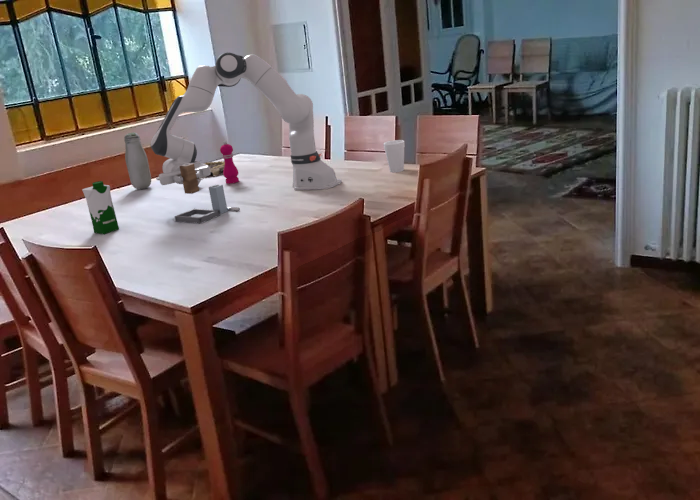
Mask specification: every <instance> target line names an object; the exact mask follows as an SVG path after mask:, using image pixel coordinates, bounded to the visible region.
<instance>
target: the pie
mask: <svg viewBox="0 0 700 500" xmlns="http://www.w3.org/2000/svg"><path fill="white" fill-rule="evenodd" d="M202 164H206V165H208V166H209V167H210V172H211V174H212V177H220V176H222V174H221V173H223V170H224V166H225V162H224V161H222V160H219V161H208V162H204V163H203V162H202ZM220 174H221V175H220ZM207 177H208V176H204V177H200V179H204V178H207Z"/></svg>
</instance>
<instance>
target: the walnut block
mask: <svg viewBox="0 0 700 500" xmlns="http://www.w3.org/2000/svg"><path fill="white" fill-rule="evenodd" d="M179 167H180V171H181V176H182V177H183V184H182V186H183V190H184V194H191V195H193V194H195V193H198V192H200V188H199V185H198V181H197V176H196V171H195V166H194V164H184V165H181V166H179Z"/></svg>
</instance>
